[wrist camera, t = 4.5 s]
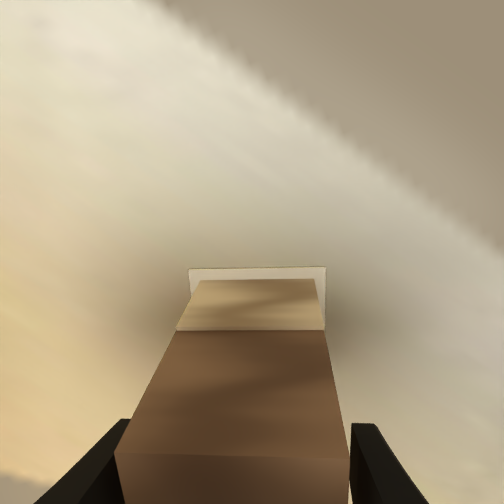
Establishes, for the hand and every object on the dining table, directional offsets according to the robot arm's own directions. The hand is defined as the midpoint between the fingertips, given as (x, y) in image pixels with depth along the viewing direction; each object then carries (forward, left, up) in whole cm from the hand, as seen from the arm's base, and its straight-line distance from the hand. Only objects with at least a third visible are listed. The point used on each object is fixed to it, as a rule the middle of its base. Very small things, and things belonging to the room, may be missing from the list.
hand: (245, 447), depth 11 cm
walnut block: (0, 0, -3) cm, 3 cm away
